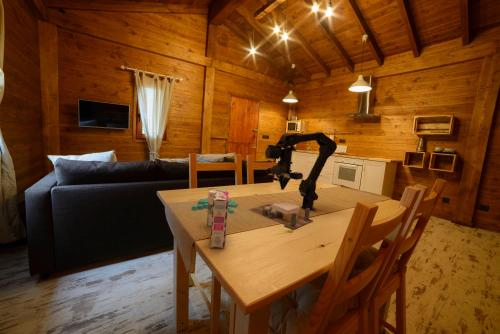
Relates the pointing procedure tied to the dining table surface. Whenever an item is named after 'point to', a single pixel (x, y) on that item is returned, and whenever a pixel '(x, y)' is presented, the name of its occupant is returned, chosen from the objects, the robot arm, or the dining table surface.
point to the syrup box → (211, 205)
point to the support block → (289, 216)
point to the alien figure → (204, 204)
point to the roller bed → (278, 216)
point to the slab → (286, 207)
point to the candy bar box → (219, 220)
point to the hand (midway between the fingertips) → (282, 189)
